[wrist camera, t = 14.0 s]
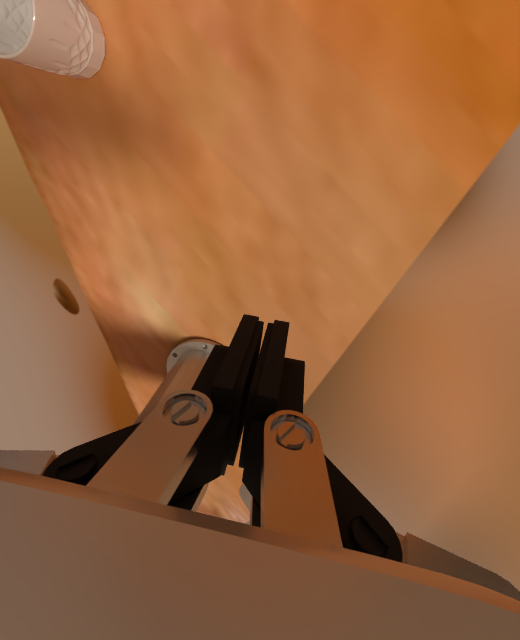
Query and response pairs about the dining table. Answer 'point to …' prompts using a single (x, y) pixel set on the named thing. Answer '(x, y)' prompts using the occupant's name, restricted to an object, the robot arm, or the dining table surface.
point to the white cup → (52, 36)
